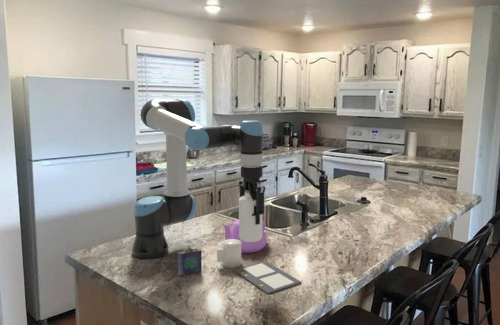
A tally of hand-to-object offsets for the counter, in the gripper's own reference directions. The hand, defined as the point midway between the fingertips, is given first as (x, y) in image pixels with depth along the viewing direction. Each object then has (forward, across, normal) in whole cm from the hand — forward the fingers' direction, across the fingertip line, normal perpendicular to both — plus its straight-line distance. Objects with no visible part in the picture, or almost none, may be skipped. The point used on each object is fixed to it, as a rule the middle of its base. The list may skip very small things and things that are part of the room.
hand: (251, 230), depth 146 cm
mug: (+19, +18, -1) cm, 27 cm away
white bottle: (+3, +1, 0) cm, 4 cm away
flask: (+19, +19, +16) cm, 31 cm away
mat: (+20, +1, -7) cm, 21 cm away
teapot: (+19, +31, -16) cm, 40 cm away
